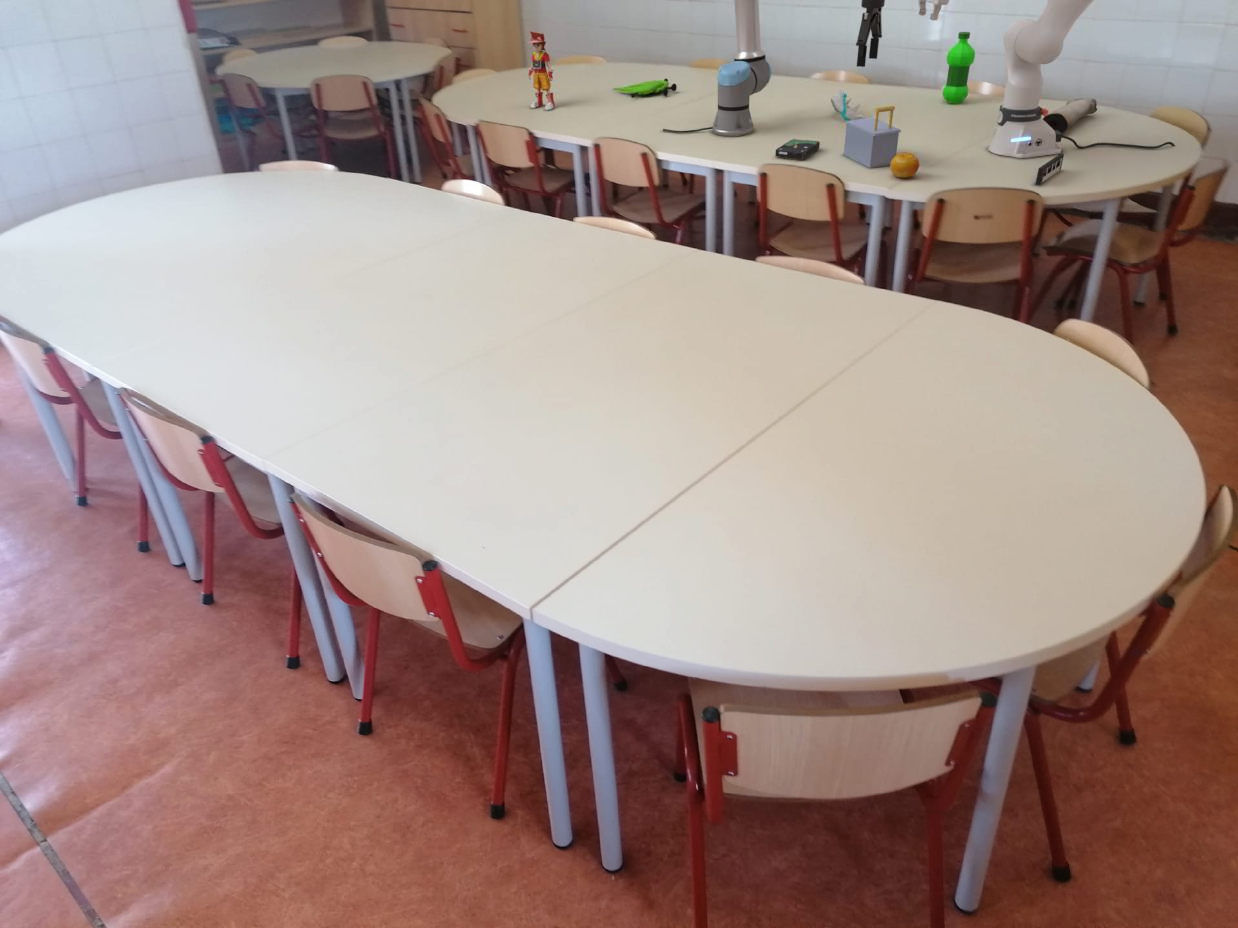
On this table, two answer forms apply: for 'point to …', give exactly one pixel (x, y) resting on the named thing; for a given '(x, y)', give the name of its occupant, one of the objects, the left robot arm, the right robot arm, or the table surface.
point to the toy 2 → (648, 88)
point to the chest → (870, 147)
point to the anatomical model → (845, 107)
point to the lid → (876, 123)
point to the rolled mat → (1070, 113)
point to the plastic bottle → (958, 69)
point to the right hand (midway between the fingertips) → (927, 17)
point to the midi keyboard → (1049, 169)
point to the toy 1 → (541, 71)
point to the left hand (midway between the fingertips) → (866, 62)
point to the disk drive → (797, 149)
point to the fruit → (904, 165)
